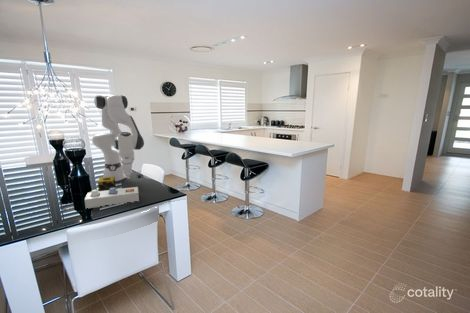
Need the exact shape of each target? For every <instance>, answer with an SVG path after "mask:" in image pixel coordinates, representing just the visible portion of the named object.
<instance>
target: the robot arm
mask: <svg viewBox="0 0 470 313" xmlns="http://www.w3.org/2000/svg"><path fill="white" fill-rule="evenodd" d="M93 101H94V103H93V104H94V105H95V107H96V108H97V109H99V110H101V125H102V127H103V128H105V129H107V130H109V132H105V133H104V132H103V133H102V132H101V133H98V134H94V135H93V137H92V139H91V140H92V144H93V146H95V147H96V148H98V149H99V150H100V151H101V152H102V153H103V154H102V155H103V158H104V169H103V170H102V171H103V177H113V176H115V182H118V181H121V180H124V179H128V180H129V179H131V175H132V171H133V170H132V167H133V162H134V161H135V151H136V150H139V151H140V150H141V149H142V148H144V145H145V141H144V137H143V136H142V135H141V133H140V130H139V128H138V126H137V124H136V122H135V120H134V118H133V116H132V115H130V114H129V113H128V112H127V111H126V109H127V108H128V106H129V101H128V97H126V96H125V95H122V94H120V95H119V94H108V93H107V94H101V93H100V94H99V93H98V94H96V95H95V97H94V99H93ZM119 124H120V125H124V126H127V127H128V128H129V130H130V131H131V132H128V131H122V130H121V128H120V127H119ZM112 147H114V149H116V150H114V149H113V148H112ZM134 150H135V151H134Z"/></svg>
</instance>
